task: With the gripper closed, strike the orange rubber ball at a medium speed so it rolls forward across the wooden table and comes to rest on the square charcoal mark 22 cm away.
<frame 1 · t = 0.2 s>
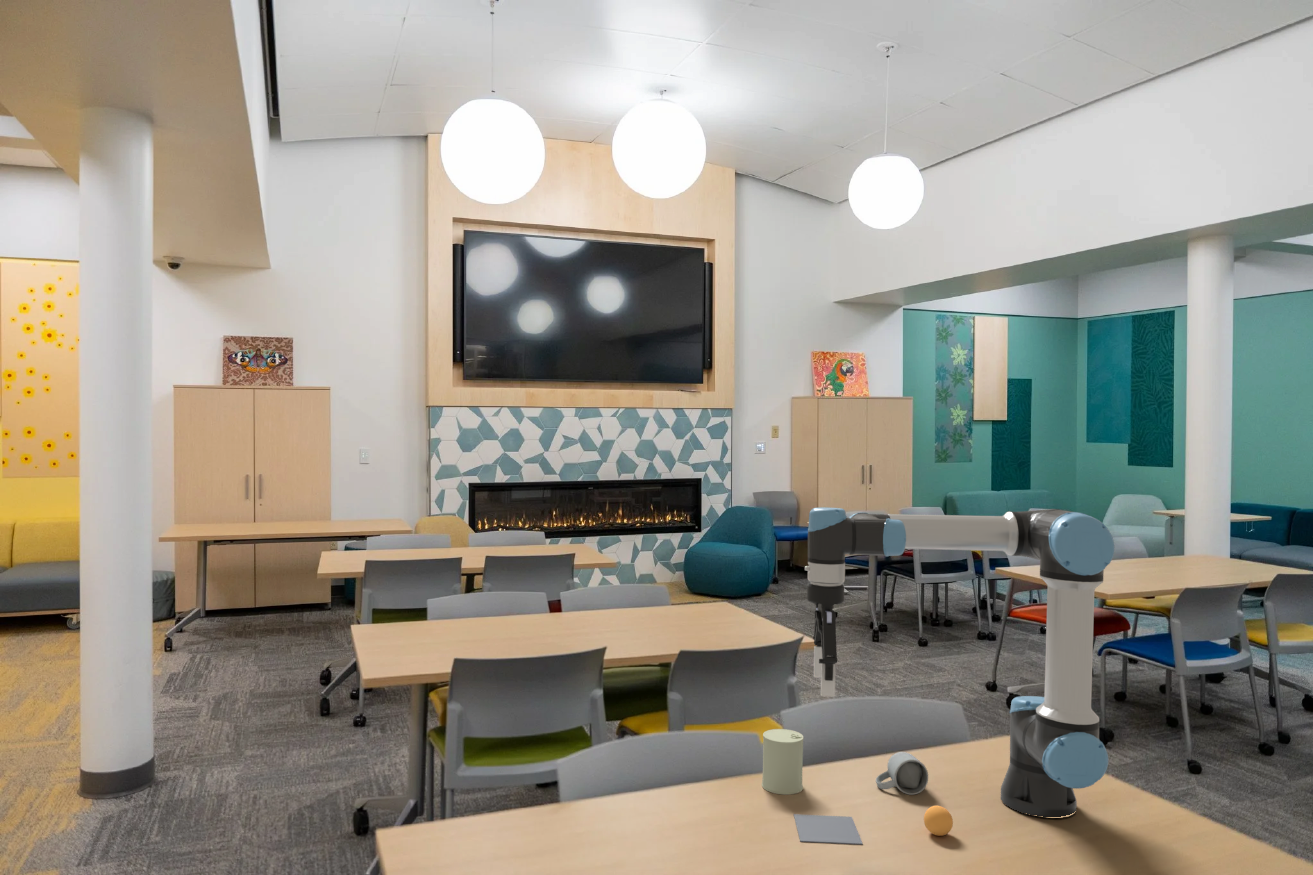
hand: (823, 686, 176), 28 cm above the table, tool pointing down, fingers open, 13 cm apart
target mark: (826, 829, 172), on the table
can: (782, 787, 193), on the table
ball: (938, 820, 171), on the table
ceramic mug: (900, 789, 194), on the table
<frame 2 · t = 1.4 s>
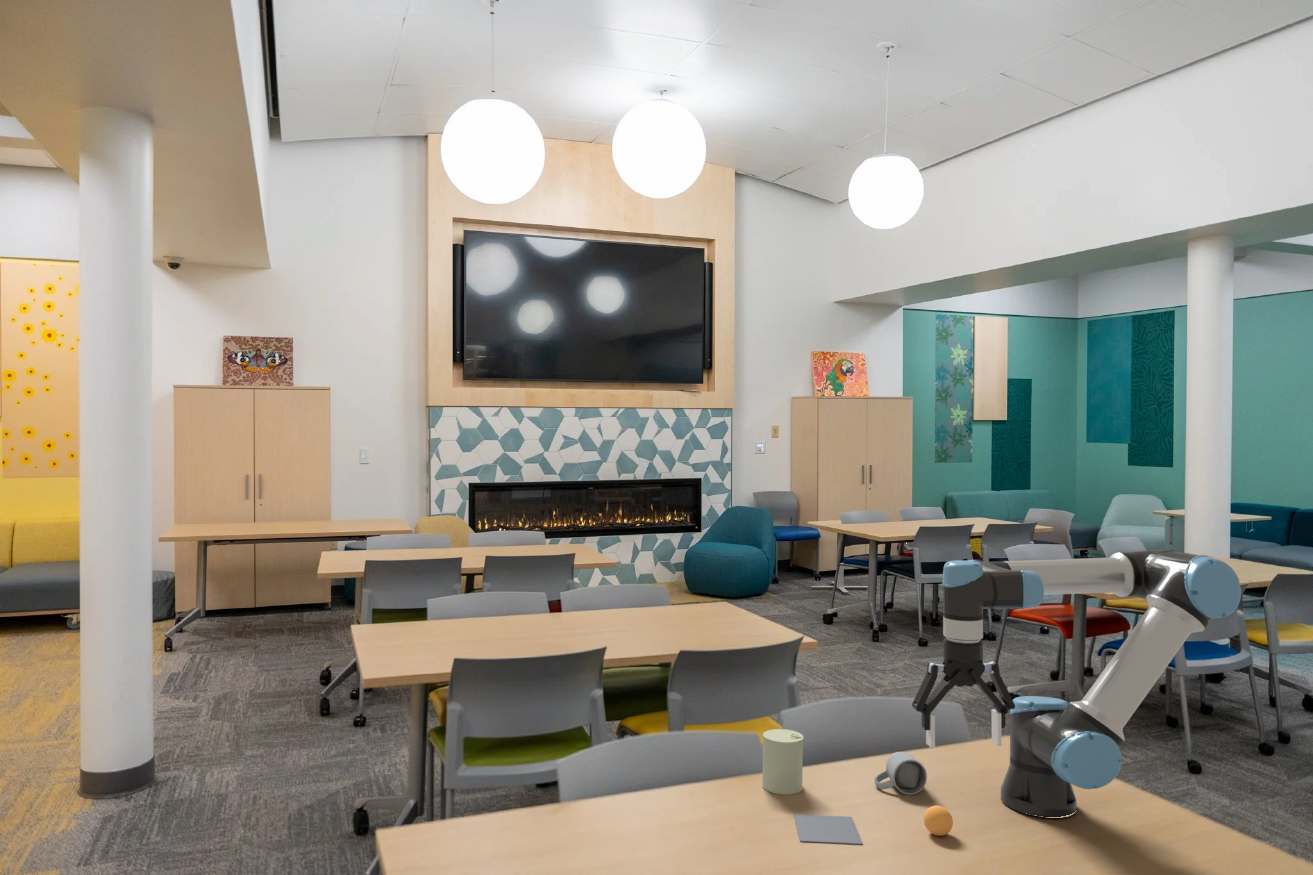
hand: (963, 744, 171), 18 cm above the table, tool pointing down, fingers open, 13 cm apart
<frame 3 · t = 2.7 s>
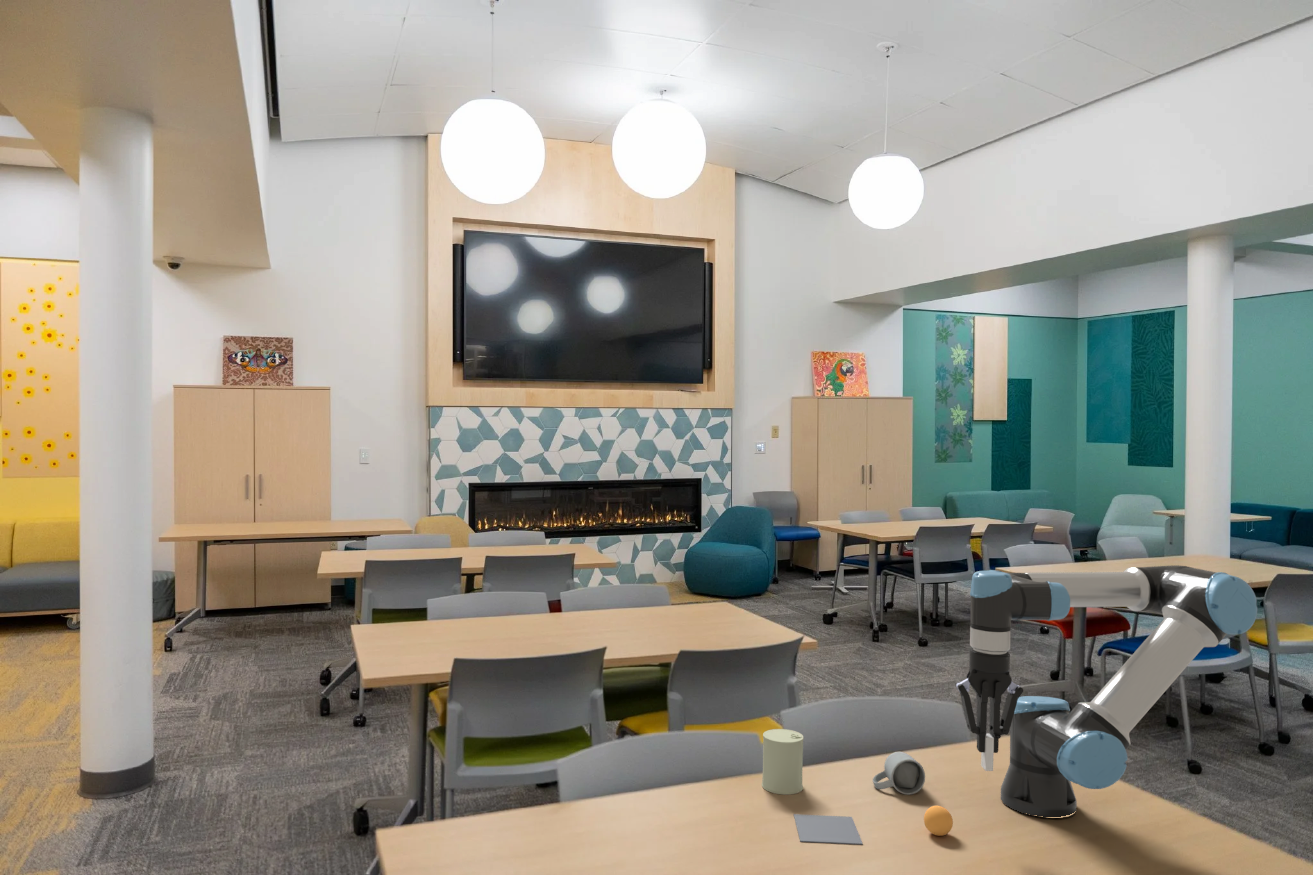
hand: (987, 768, 170), 14 cm above the table, tool pointing down, fingers closed
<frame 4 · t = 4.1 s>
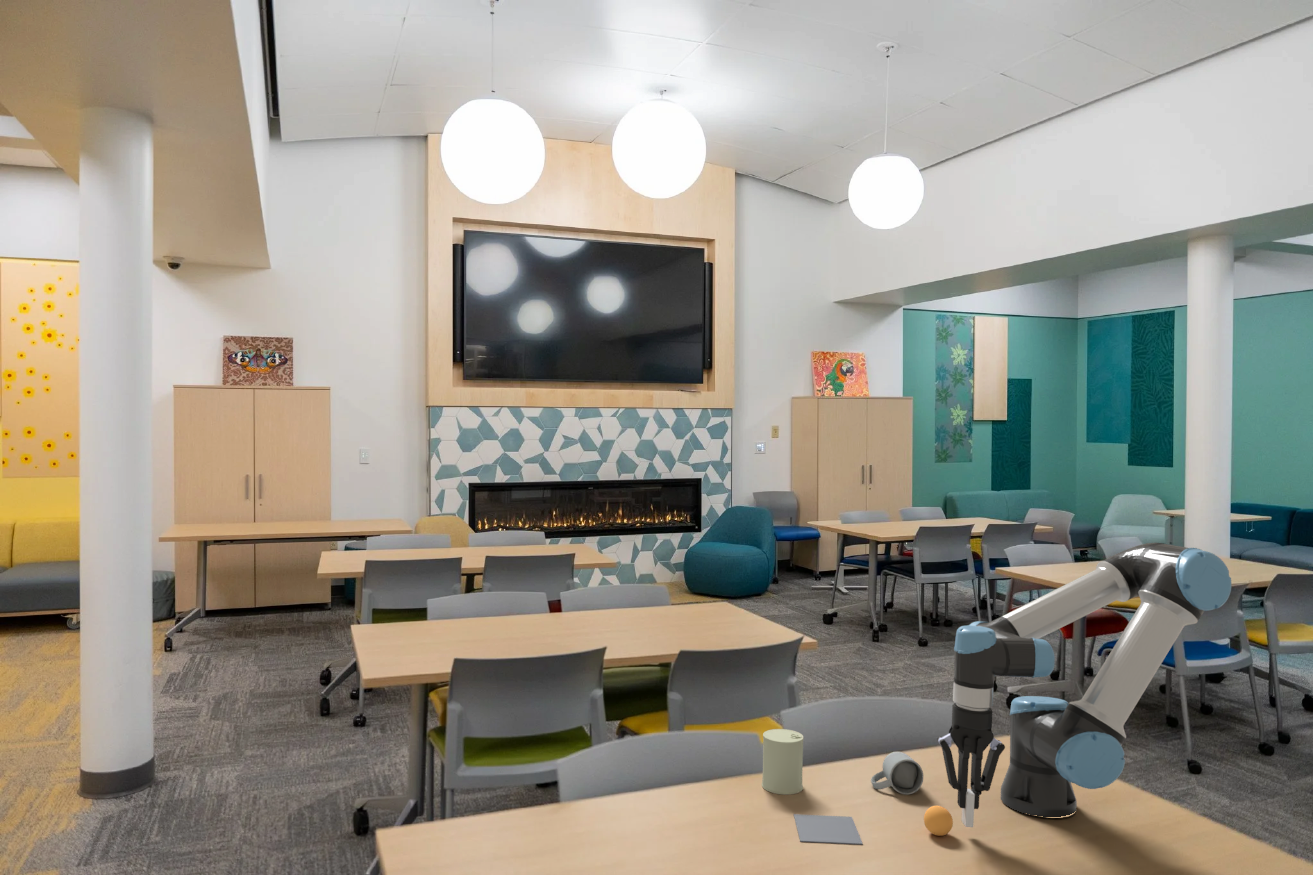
hand: (967, 823, 170), 2 cm above the table, tool pointing down, fingers closed
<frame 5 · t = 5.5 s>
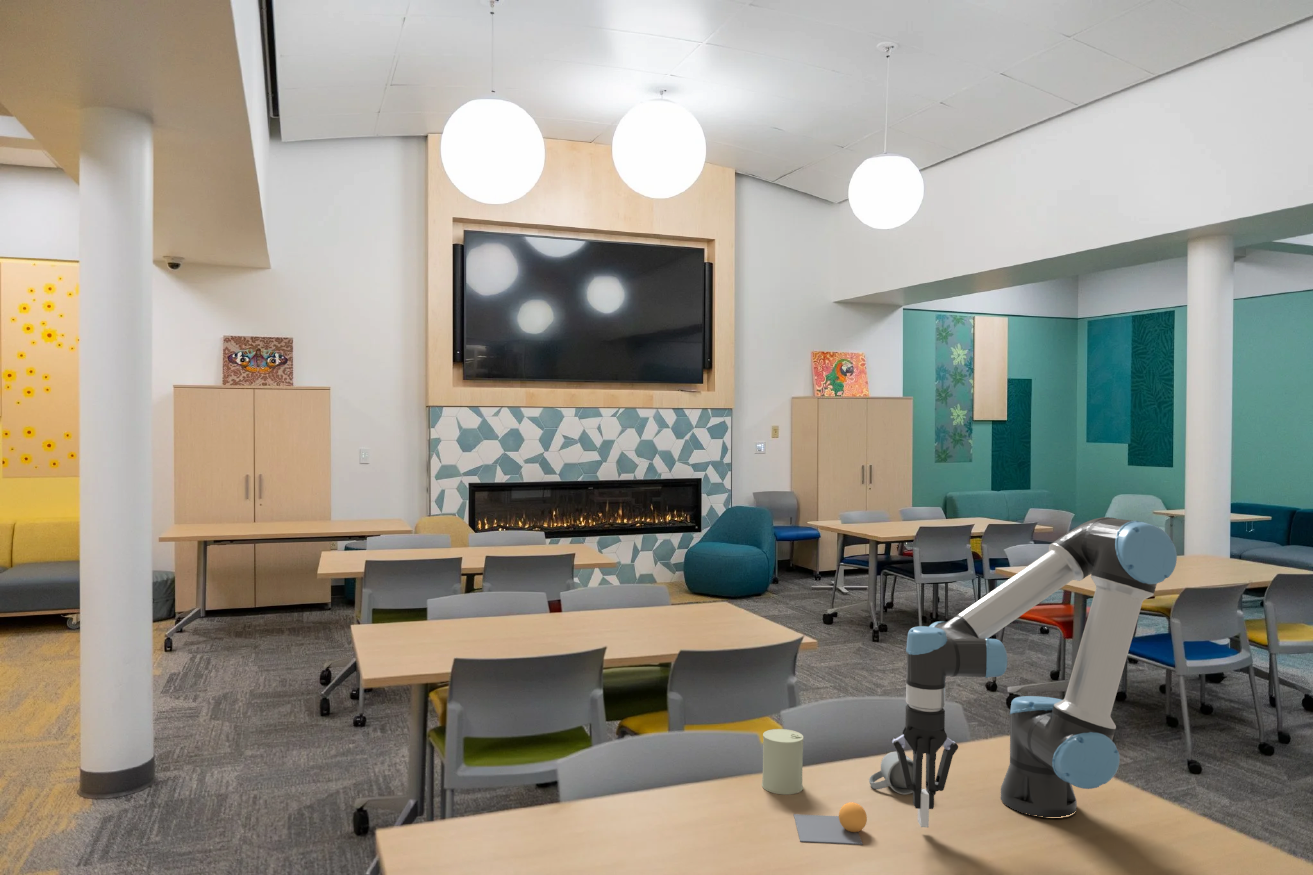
hand: (923, 824, 171), 2 cm above the table, tool pointing down, fingers closed
ball: (852, 817, 171), on the table
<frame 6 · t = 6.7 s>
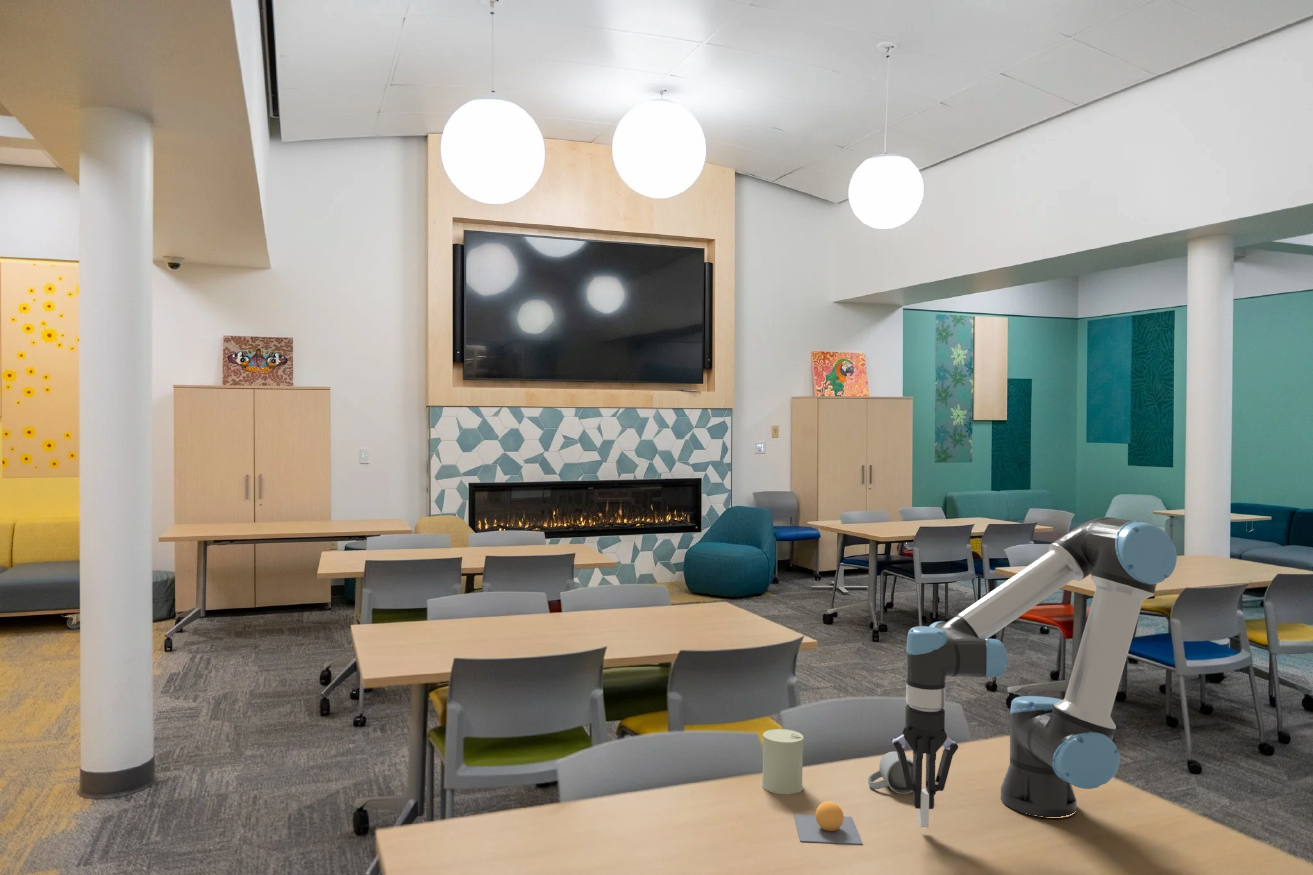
hand: (923, 824, 171), 2 cm above the table, tool pointing down, fingers closed
ball: (829, 816, 172), on the table
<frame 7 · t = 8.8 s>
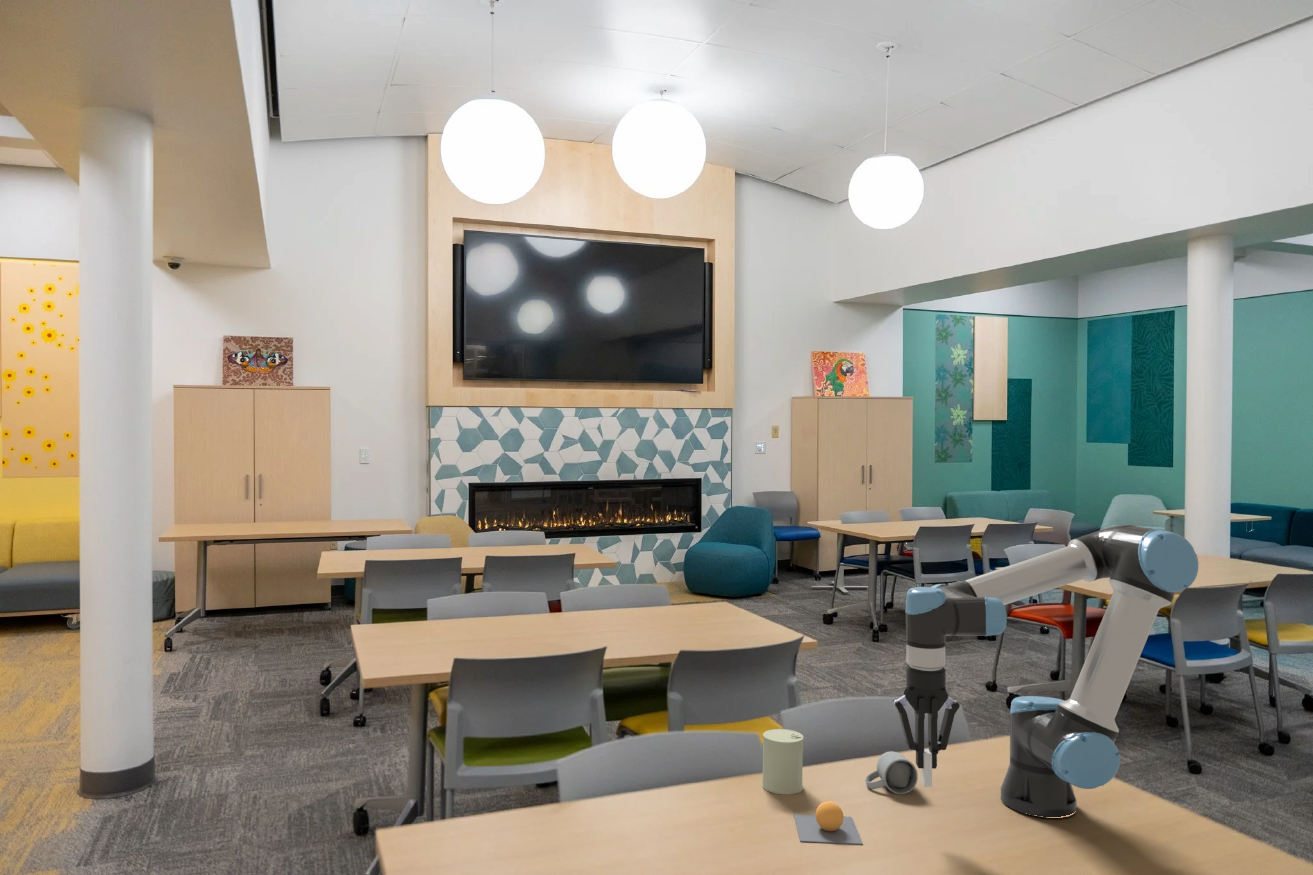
hand: (926, 783, 171), 10 cm above the table, tool pointing down, fingers closed
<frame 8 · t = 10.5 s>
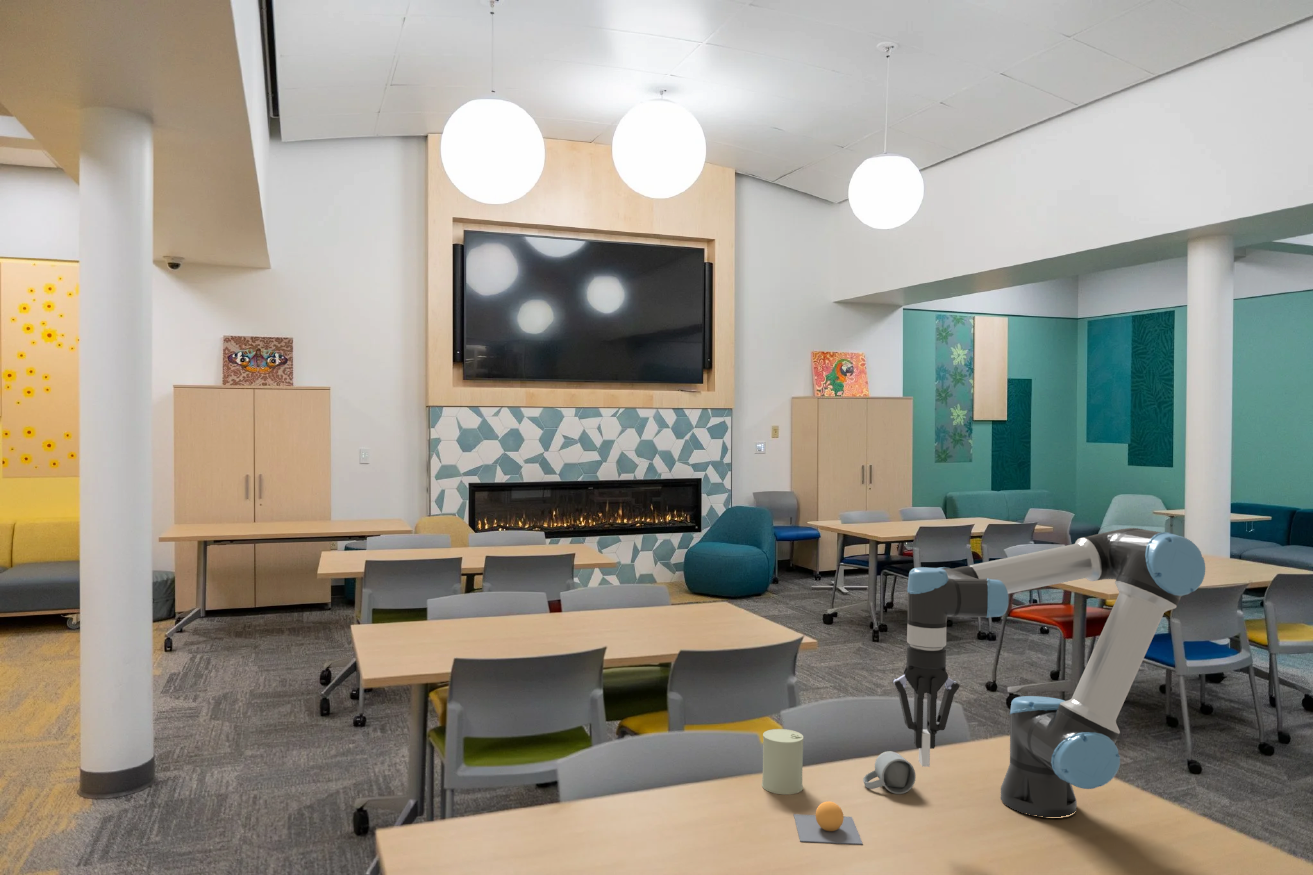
hand: (924, 763, 171), 14 cm above the table, tool pointing down, fingers closed
at the end: ball 0.5 cm from the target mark (horizontally); ball at rest at the end (0.0 cm/s); ball moved 21.6 cm from its start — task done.
